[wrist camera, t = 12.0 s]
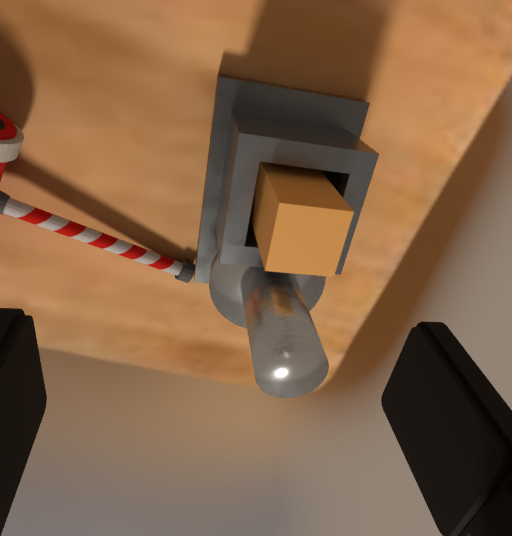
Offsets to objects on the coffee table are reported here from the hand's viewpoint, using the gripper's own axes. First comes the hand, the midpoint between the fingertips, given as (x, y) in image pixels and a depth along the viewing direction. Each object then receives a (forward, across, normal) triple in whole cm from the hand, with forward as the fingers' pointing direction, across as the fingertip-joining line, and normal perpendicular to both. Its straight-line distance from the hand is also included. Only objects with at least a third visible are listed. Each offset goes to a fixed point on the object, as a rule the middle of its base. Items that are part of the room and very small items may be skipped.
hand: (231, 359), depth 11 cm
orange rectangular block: (+26, -6, +4) cm, 27 cm away
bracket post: (+27, -6, +8) cm, 29 cm away
